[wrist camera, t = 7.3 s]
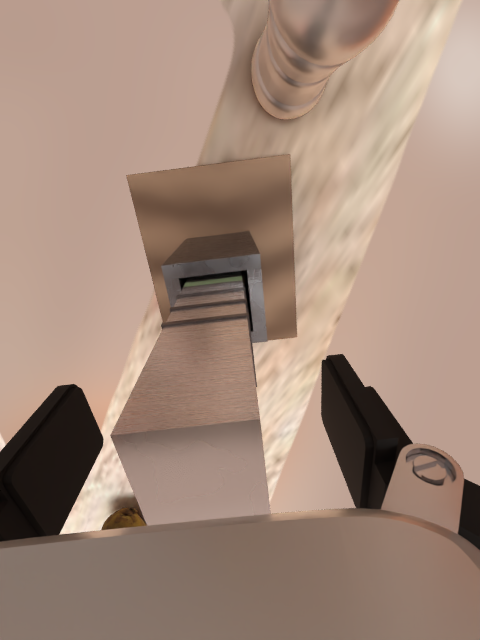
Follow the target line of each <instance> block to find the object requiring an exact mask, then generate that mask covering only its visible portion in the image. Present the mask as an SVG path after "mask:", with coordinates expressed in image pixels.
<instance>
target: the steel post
mask: <svg viewBox="0 0 480 640" xmlns="http://www.w3.org/2000/svg"><path fill="white" fill-rule="evenodd" d="M176 300H177V301H176V303H175V305H174V307H170V309H169V310H170V315H169V317H168V319H167V321H166V322H164V323H162V325H161V327H162V331H161V333H160V336H159V338H158V340H157V342H156V344H155V346H154V348H153V350H152V352H151V354H150V356H149V358H148V360H147V362H146V364H145V366H144V368H143V370H142V372H141V374H140V376H139V378H138V380H137V382H136V384H135V386H134V388H133V390H132V392H131V395H130V397H129V399H128V401H127V403H126V405H125V407H124V409H123V411H122V413H121V415H120V417H119V419H118V421H117V423H116V425H115V427H114V429H113V431H112V433H111V435H110V436H111V438H112V441H113V443H114V445H115V448H116V450H117V453H118V455H119V458H120V460H121V463H122V465H123V468H124V470H125V472H126V475H127V477H128V480H129V482H130V485H131V487H132V490H133V492H134V495H135V497H136V499H137V502H138V504H139V507H140V509H141V512H142V514H143V517H144V519H145V522H146V524H147V526H149V525H159V524H169V523H179V522H189V521H199V520H210V519H220V518H231V517H242V516H252V515H263V514H271V513H270V504H269V495H268V486H267V477H266V469H265V460H264V451H263V442H262V433H261V424H260V416H259V408H258V400H257V392H256V387H257V383H256V374H255V365H254V356H253V347H252V338H251V329H250V320H249V313H248V307H247V298H246V292H245V287H243V281H242V274H241V271H234V272H226V273H217V274H209V275H201V276H192V277H188V279H187V281H186V283H185V285H184V287H183V289H182V291H181V293H180V295H177V296H176Z"/></svg>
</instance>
